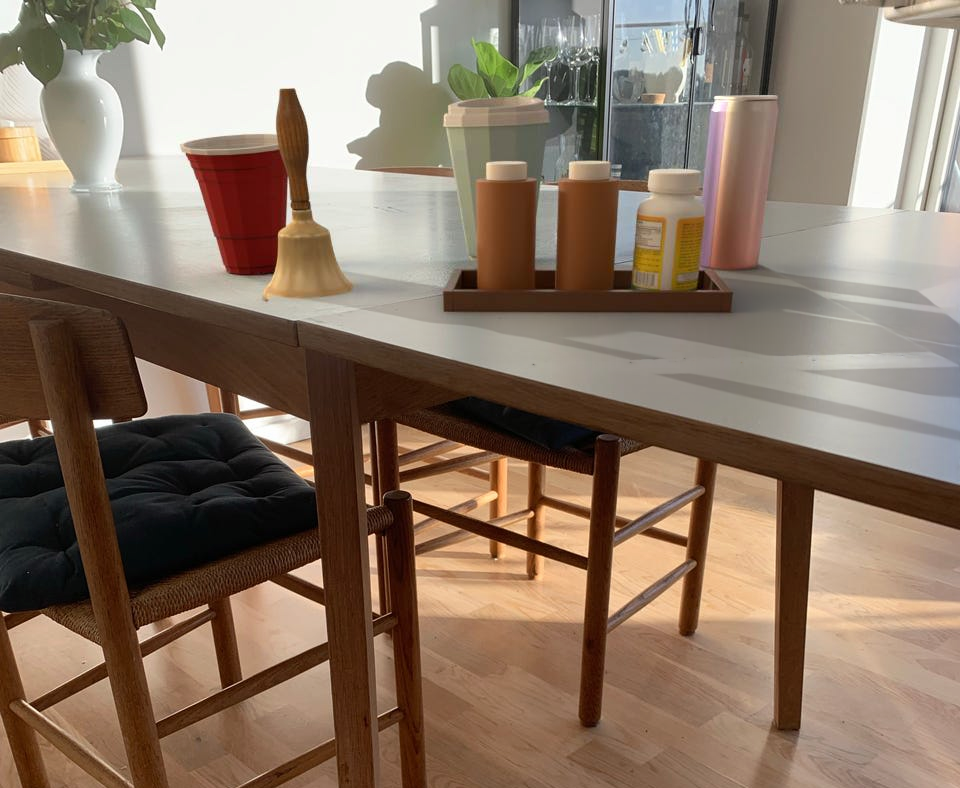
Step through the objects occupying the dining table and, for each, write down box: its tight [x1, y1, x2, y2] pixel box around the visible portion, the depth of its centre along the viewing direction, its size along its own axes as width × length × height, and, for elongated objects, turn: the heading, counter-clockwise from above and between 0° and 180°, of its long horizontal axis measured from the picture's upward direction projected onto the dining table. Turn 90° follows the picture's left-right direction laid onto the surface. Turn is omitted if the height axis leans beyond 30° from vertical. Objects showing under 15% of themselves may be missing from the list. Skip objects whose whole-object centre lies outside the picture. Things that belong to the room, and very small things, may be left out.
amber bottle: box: [555, 160, 621, 290], centre depth 76 cm, size 5×5×10 cm
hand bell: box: [262, 87, 356, 301], centre depth 80 cm, size 8×8×16 cm
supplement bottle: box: [631, 168, 705, 290], centre depth 76 cm, size 5×5×10 cm
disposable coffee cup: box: [442, 96, 551, 262], centre depth 96 cm, size 11×11×15 cm
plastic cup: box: [179, 133, 289, 275], centre depth 93 cm, size 11×11×12 cm
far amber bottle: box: [476, 161, 537, 290], centre depth 77 cm, size 5×5×10 cm
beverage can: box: [699, 94, 779, 272], centre depth 89 cm, size 6×6×15 cm
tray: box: [442, 268, 734, 314], centre depth 79 cm, size 23×11×2 cm, turn 87°
